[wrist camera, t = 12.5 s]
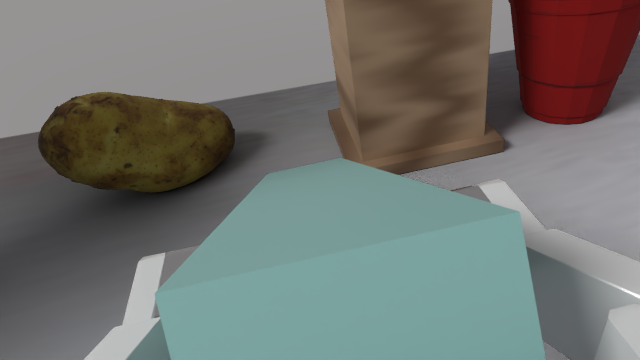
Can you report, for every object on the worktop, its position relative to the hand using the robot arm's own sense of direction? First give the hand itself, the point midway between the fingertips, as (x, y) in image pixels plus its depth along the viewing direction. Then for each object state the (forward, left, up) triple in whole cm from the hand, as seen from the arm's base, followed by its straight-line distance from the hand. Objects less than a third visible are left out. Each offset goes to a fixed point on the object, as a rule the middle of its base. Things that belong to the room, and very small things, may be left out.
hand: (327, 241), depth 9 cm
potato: (-11, +25, -13) cm, 31 cm away
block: (0, +4, -4) cm, 6 cm away
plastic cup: (+21, +24, -13) cm, 34 cm away
